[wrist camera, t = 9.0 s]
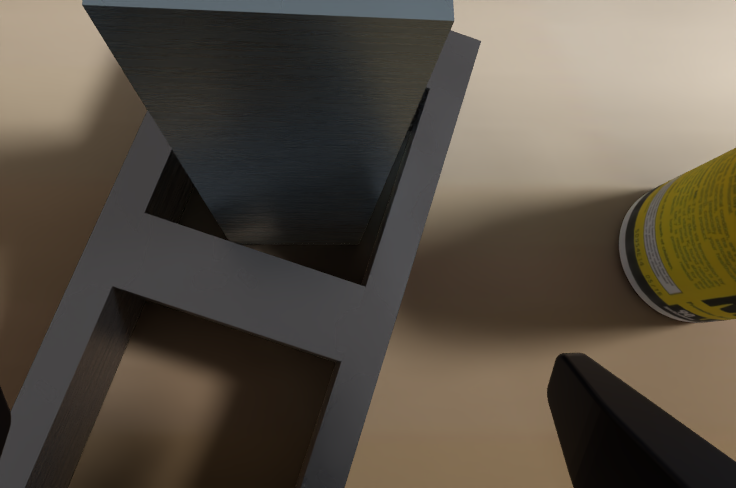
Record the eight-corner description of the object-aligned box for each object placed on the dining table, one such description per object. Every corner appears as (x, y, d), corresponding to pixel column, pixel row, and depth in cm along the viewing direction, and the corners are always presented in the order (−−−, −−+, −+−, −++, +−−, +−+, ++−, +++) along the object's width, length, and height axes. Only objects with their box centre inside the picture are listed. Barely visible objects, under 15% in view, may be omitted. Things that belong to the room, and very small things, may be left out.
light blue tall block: (358, 244, 18) (461, 4, 6) (231, 244, 18) (70, -15, 6) (356, 127, 19) (442, -286, 7) (234, 124, 18) (100, -321, 6)
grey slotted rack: (162, 1029, 13) (122, 1212, 11) (-167, 935, 13) (-300, 1095, 10) (455, 89, 20) (481, 41, 17) (233, 12, 19) (220, -51, 16)
